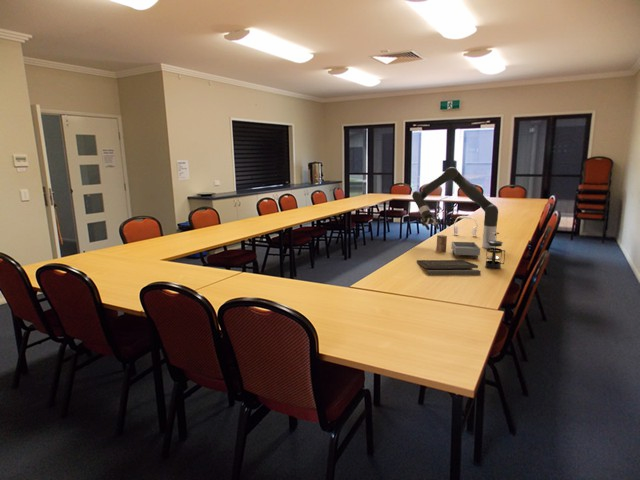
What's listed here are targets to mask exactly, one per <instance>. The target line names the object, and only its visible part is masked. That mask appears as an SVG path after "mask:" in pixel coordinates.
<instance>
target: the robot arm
mask: <svg viewBox="0 0 640 480" xmlns="http://www.w3.org/2000/svg"><path fill="white" fill-rule="evenodd" d="M449 181H453V182H454V184H456V185H457V186H458V188H459V189H460V190H461V192H462V193H463V194H464V195H465V196H466V197H467V198H468V199H470V200H471V201H472V202H473V203H475V204H477V205H478V206H479V207H480V208H481V209H482V211H484V221H483V232H482V244H481V245H482V247H481V248H484V249H487V248H494V246H490V245H489V243H488V241H495V234H493V232H497V226H498V217H499V209H498V207H497V206H496V205H495V204H494V203H492V202H491V201H490V200H488V198H486V197H485V196H484V194H483V193H482V192H481V191H480V190H479V189H478V188H477V187H476V186H475V185H474V184H473V183H472V182H470V181H469V180H468V179H466V178H465V177H464V175H462V174H461V173H460V171H459V170H458V169H457V168H456V167H453V166H450V167H447V168H446V170H444V172H443V173H442V174H440V175H439V176H438V177H437V178H436V179H434V180H432V181H431V182H429V183H427V184H426V185H425V186H423V187H422V189H421V190H422V191H421V192H420V191H419V190H415V191H413V193H412V195H411V197H412V200H413V201H414V203H415V204H416V206H417V208H418V211H419V213H420V216H421V217H422V218H420V222H421V225H422V227H425V228H426V230H427V231H429V230H431V229H430V226H429V224H432V225H434V226H435V228H436V230H439V229H440V226H439V225H440V221H439V219H438V217H436V216H435V217H433V214H432V212H431V210H430V207H429V206H428V204H427V202H426V201H425V200H426V198H427V197H428V195H430V194H432V193H433V192H434V191H436V190H437V189H438V188H439V187H441V186H442V185H444V184H445V183H447V182H449ZM497 237H498V236H497V235H496V239H497ZM495 248H497V247H495Z"/></svg>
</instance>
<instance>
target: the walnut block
mask: <svg viewBox="0 0 640 480" xmlns="http://www.w3.org/2000/svg"><path fill="white" fill-rule="evenodd" d="M447 241H448V236H447V235H444V234H438V235H436V246H435V247H436V252H438V253H446V252H447Z"/></svg>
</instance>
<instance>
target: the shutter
mask: <svg viewBox="0 0 640 480" xmlns="http://www.w3.org/2000/svg"><path fill="white" fill-rule="evenodd" d="M416 263H417V264H418V265H419V266H422V267H423V268H425V269H426V274H427V275H428V276H435V277H436V276H481V270H479V265H478V264H475V263H472V262H470V261H468V260H464V259H436V260H435V259H429V260H428V259H423V260H422V259H417V260H416Z"/></svg>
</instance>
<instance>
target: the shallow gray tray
mask: <svg viewBox="0 0 640 480" xmlns="http://www.w3.org/2000/svg"><path fill="white" fill-rule="evenodd" d="M451 251H452V253H453V254H454V255H455V258H456V259H460V258H461V256H472V257H473V259H475V260H477V259H478V258H479V256H481V255H480V254H481V247H479V245H478V244H477V243H476V242H474V241H473V242H472V241H451Z"/></svg>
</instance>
